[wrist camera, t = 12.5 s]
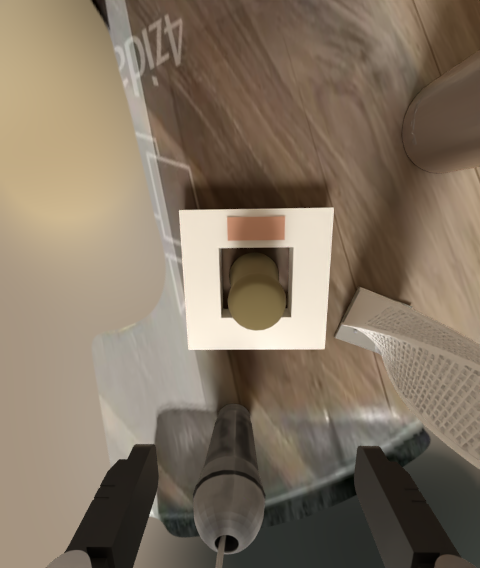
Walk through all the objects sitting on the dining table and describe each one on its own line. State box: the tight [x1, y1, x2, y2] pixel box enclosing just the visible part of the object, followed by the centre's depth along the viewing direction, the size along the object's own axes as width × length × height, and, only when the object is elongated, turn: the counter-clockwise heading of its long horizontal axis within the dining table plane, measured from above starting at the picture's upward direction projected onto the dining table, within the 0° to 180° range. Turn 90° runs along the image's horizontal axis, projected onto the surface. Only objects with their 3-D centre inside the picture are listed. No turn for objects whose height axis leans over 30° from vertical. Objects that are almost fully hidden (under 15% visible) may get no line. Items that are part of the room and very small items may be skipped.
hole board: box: [179, 208, 334, 350], centre depth 33 cm, size 16×16×3 cm
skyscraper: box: [334, 287, 480, 469], centre depth 22 cm, size 8×8×28 cm
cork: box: [228, 252, 286, 331], centre depth 29 cm, size 6×6×11 cm
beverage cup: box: [193, 404, 265, 568], centre depth 30 cm, size 7×7×20 cm
